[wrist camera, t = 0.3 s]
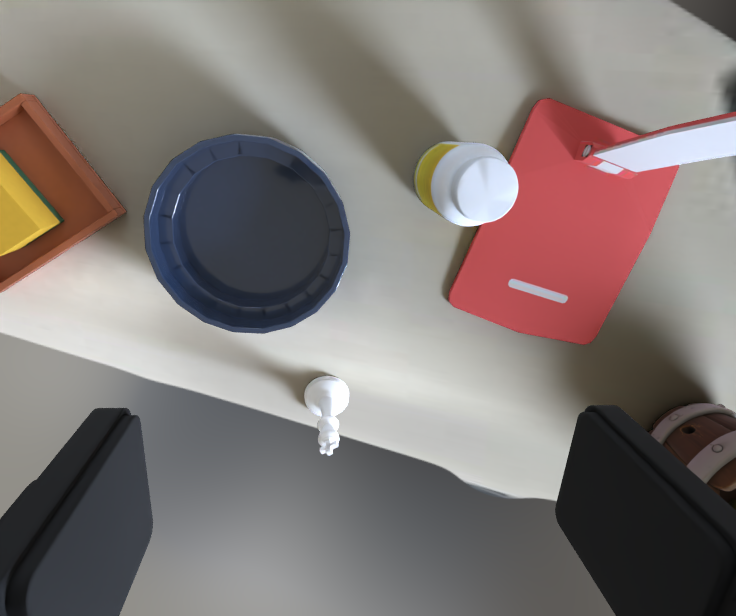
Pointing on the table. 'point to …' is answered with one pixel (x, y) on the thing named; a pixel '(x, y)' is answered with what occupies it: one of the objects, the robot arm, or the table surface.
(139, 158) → the table surface
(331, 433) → the chess piece
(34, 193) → the sponge
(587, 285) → the desk lamp
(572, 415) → the table surface
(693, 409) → the flowerpot
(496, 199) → the pill bottle
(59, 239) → the sponge dish
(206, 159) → the bowl
